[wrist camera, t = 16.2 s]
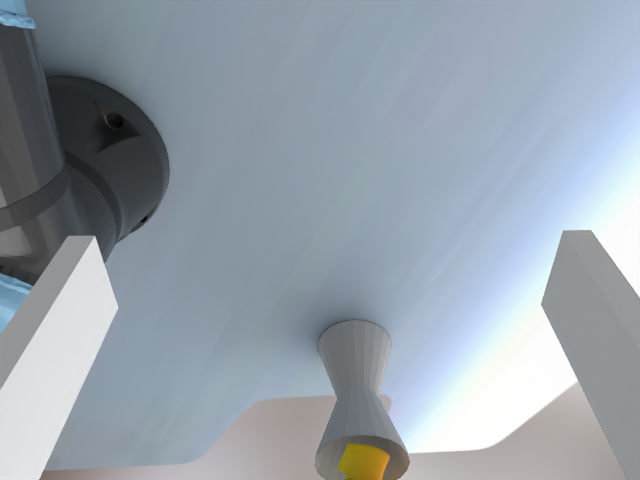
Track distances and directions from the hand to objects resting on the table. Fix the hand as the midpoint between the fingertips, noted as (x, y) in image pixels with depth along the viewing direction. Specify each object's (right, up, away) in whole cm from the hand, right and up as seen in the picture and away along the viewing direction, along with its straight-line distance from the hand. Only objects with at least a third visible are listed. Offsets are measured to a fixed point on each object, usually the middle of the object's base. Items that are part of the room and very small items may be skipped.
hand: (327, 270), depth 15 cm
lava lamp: (+4, -12, +47) cm, 49 cm away
